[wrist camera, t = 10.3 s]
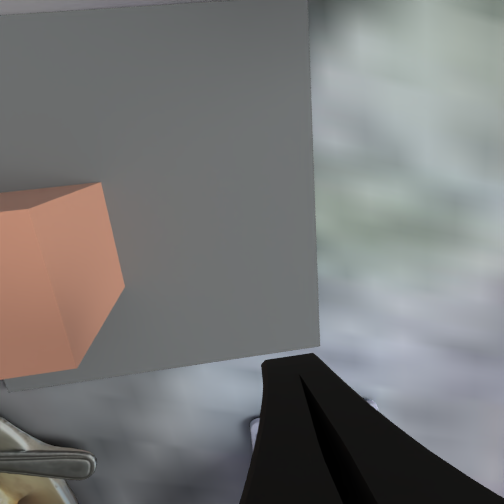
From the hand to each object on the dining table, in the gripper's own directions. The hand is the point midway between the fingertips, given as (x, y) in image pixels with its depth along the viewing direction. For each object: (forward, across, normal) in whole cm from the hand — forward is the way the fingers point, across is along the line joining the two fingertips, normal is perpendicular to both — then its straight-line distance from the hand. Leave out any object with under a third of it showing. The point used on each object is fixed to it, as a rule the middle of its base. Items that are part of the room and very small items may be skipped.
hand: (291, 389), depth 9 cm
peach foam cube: (+10, +9, -2) cm, 13 cm away
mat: (+10, +5, -3) cm, 11 cm away
